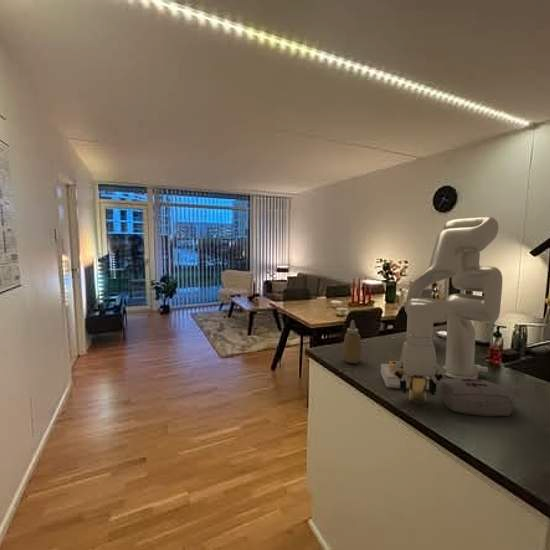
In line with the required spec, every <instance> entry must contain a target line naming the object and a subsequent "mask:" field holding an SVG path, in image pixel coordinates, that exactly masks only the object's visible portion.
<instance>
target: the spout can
mask: <svg viewBox="0 0 550 550" xmlns="http://www.w3.org/2000/svg"><path fill="white" fill-rule="evenodd" d="M427 377H428V376H427ZM427 377H426V376H416V375H410V379H409V389H408V400H409V401H410V402H412V403H413V404H418V405H420V404H421V405H422V404H425V403H426V402H427V390H426V382H427Z"/></svg>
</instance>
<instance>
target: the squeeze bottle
mask: <svg viewBox="0 0 550 550" xmlns="http://www.w3.org/2000/svg"><path fill="white" fill-rule="evenodd" d="M361 339H362V338H361V335H360V334H359V329H358V328H356V324H355V320H351V321H350V325H349V327H348V328H347V329H346V333H345V334H344V339H343V347H342V355H343V357H344V360H345V362H347V363H349V364H358V363H359V362H360V360H361V357H362V355H363V352H362V351H363V350H362V341H361Z"/></svg>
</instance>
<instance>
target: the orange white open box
mask: <svg viewBox="0 0 550 550" xmlns="http://www.w3.org/2000/svg"><path fill="white" fill-rule="evenodd" d="M399 361H400V360H398V361H397V360H388V363H381V364H380V375H381V377H382V380H383V382H384V384H385V386H386V388H389V389H390V388H393V389H400V379H399V378H398V377H397V376H396V375H395V373H394V372H393V370H392V368H391V366H392V365H394V364H395V363H397V362H399ZM397 371H398V372H399V373H401V372H402V371H403V370H402V369H401V367H399V368H397ZM426 377H427V382H426V391H429V380H430V377H429V376H426ZM409 379H410V375H408V376H407V378H406V379H405V381H406V390H407V389H408V390H409Z"/></svg>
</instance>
